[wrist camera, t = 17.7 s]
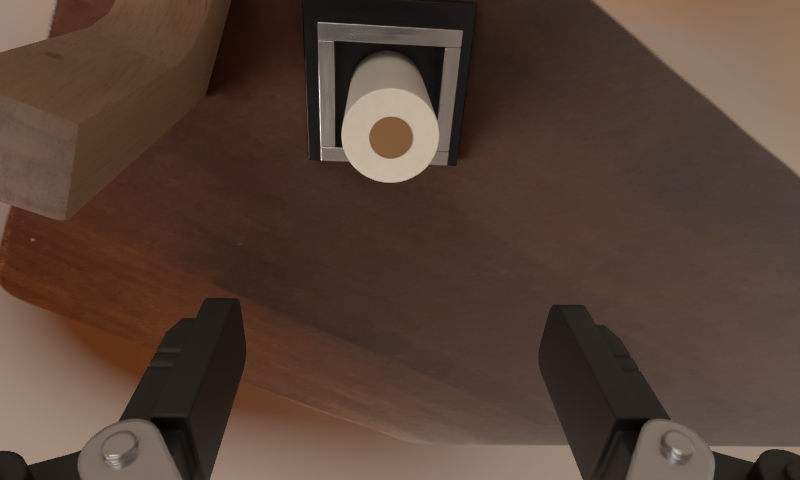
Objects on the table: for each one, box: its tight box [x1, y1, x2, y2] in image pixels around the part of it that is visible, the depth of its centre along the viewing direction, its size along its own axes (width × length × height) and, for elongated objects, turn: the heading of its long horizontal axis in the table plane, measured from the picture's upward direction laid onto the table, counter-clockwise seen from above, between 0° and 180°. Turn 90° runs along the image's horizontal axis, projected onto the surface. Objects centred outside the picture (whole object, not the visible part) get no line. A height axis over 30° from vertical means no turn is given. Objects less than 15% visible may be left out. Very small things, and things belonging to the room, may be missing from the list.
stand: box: [302, 0, 477, 166], centre depth 32 cm, size 11×11×4 cm
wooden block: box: [0, 0, 231, 220], centre depth 24 cm, size 9×4×18 cm, turn 155°
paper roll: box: [341, 50, 440, 183], centre depth 29 cm, size 5×5×10 cm
